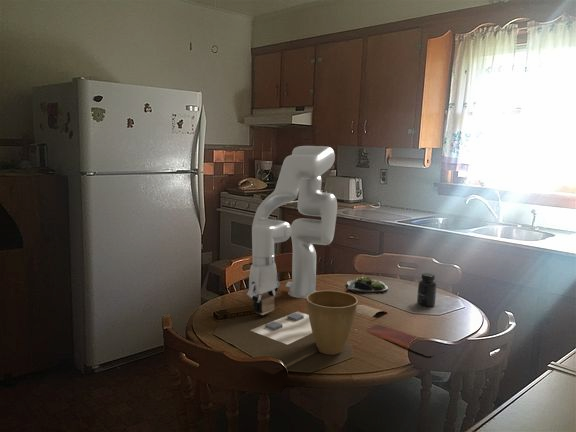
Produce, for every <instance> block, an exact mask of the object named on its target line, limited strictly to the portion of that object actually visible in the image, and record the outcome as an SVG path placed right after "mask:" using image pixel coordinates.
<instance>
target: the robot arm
mask: <svg viewBox="0 0 576 432" xmlns="http://www.w3.org/2000/svg"><path fill="white" fill-rule="evenodd" d="M335 157H336V154H335V151H334V149H333V148H332V147H330V146H324V145H320V146H319V145H317V146H316V145H301V146H300V145H299V146H296V147H294V148H293V150H292V151H291V154H290V155H288V156H286V157H285V158H284V160H283V163H282V165H281V168H280V172H279V174H278V175H279V176H278V180H277V182H276V185H275V189H274V190H273V191H272V193H270V194H269V195H268V196H267V197H266V198H265V199H263V201H261V203H260V204H259V205H258V207H257V209H256V211H255V215H254V217H253V221H252V225H251V243H252V244H251V245H252V249H251V250H252V264H251V265H250V269H249V277H248V278H249V279H248V292H247V293H246V296H247V297H249V298H250V300H251V301H252V302H253V312H254V313H255V312H257V313H256V314H258V313H259V315H261V314H260V313H261V302H260V299H261V296H262V295H264V294H268V295H271V296H274V308H275V307H276V298H275V297H277V292H278V289H279V287H280V286H281V282H280V281H279V280H278V272H277V263H276V261H275V257H276V254H275V244H277V243H283V242H287V240H289V239H290V238H291V243H292V263H291V265H292V267H291V268H292V269H291V272H292V273H291V274H292V275H291V281H287V283H286V284H285V288H288V289H289V291H288V292H287V294H288V295H289V296H290V297H293V298H298V299H299V298H300V299H307V296H308V295H309V294H311V293H313V292H317V291H318V290H316V284H317V283H316V282H317V281H316V280H317V276H316V275H317V252H316V249H315V246H314V245H322V246H327V245H330V244H331V243H332V242H333V240H334V236H335V232H336V231H335V230H336V222H337V215H338V201H337V197H336V196H335V195H334V193H330V192H326V191H325V192H322V181H323V180H322V175H324V173H326V172H328V171H329V170H330V169H331V167H333V165H334V163H335V160H336V158H335ZM297 198H298V199H297ZM296 199H297V210H298V212H299V213H300V214H302V215H304V216H310V217H311V216H312V217H320V218H321V219H314V218H305V217H301V218H297V219H295V220H293V221H292V223H291V224H290V223H289V222H288V221H284V220H281V219H280V220H279V219H272V218H271V219H270V218H269V217H270V215H271V213H273V212H274V210H276V209H277V208H279V207H281V206H283V205H287V204H288V203H290V202H293V201H295V200H296Z"/></svg>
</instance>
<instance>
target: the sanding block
mask: <svg viewBox="0 0 576 432" xmlns="http://www.w3.org/2000/svg"><path fill="white" fill-rule="evenodd" d="M274 297H275V296H271V295H268V293H263V294H262V295H261V299H260V302H261V313H260V314H259V313H257V312H254V313H256V314H259V315H261V316H264V315H266V314H269V313H270V312H273V311H275V307H274Z"/></svg>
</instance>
